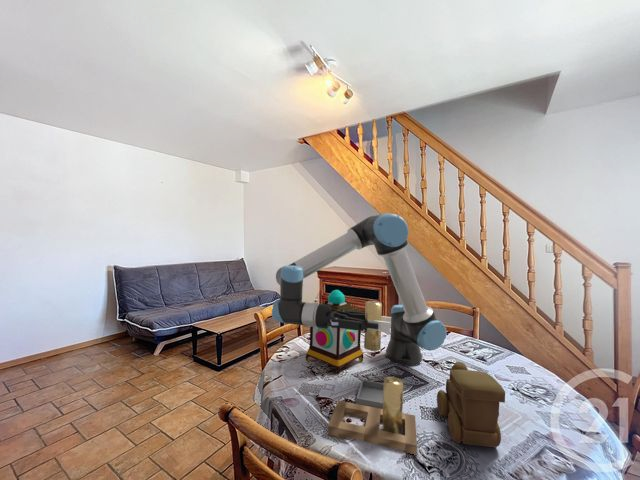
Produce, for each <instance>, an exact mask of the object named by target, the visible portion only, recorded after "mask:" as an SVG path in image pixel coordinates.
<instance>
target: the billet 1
mask: <svg viewBox="0 0 640 480" xmlns="http://www.w3.org/2000/svg"><path fill="white" fill-rule="evenodd" d="M364 309H365V311H364V312H365V320H366V321H367V322H368V320H376V321H381V319H382V316H383V315H382V314H383V313H382V312H383V303H382V302H381V301H377V300H367V301H365V308H364ZM363 338H364V339H363V340H364V341H363V344H364V345H363V348H364V349H365V350H367V351H371V352H375V351H378V352H379V351H380V350H381V346H382V345H381V342H382V341H381V340H382V331H378V330H370V329H368V328H367V332H364V337H363Z"/></svg>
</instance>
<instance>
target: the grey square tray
mask: <svg viewBox="0 0 640 480" xmlns="http://www.w3.org/2000/svg"><path fill="white" fill-rule="evenodd" d="M383 387H384V382H378V381H373V380H367V379H361V382H360V385H359V388H358V391H357V396H356V400H355V401H356V402H355V404H359V405H364V406H369V407H374V408H380V409H383Z"/></svg>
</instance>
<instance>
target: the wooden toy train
mask: <svg viewBox="0 0 640 480" xmlns="http://www.w3.org/2000/svg"><path fill="white" fill-rule="evenodd" d="M500 403H506V390H505V389H504V388H503V387H502V385H501V384H500V383H499V382H498V381H497V379H495V378H494V377H493V376H491V374H489V373H488V372H486V371H485V372H484V371H478V370H471V369H470V370H469V369H468V367H467V366H466V364H465V363H464V362H462V361H456V362H454V364H453V365H452V366H451V368H450V369H449V378H447V379H446V381H445V391H444V390H442V389H440V390H438V392H437V395H436V404H437V405H436V406H437V409H438V413H439V414H440V416H441V417H443V418H447V425H448V433H449V435H451V436H450V438H451V437H452V438H451V440H452V439H453V440H454V441H453V440H452V441H453V442H455V443H457V444H459V443H461V442H463V444H464V445H472V446H480V447H481V446H482V447H491V448H497V447H499V446H500V445H501V442H502V433H501V429H500V426H499V423H498V421H499V413H500Z"/></svg>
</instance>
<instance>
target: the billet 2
mask: <svg viewBox="0 0 640 480" xmlns="http://www.w3.org/2000/svg"><path fill="white" fill-rule="evenodd" d="M383 383H384V387H383V422H382V427H381V430H382V431H387V432H391V433H396V434H400V435H403V426H402V413H403V409H404V408H403V407H404V406H403V405H404V404H403V403H404V402H403V401H404V381H403V380H402V379H401V378H398V377H395V376H385V377H384V379H383Z"/></svg>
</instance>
